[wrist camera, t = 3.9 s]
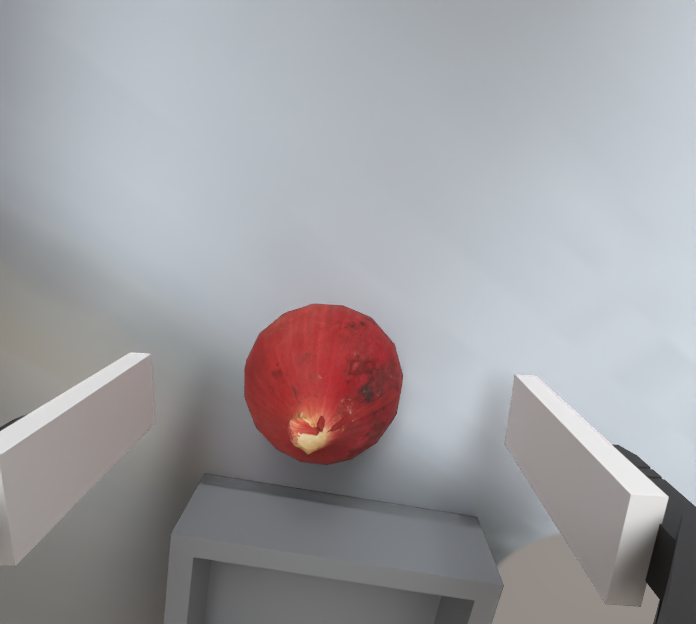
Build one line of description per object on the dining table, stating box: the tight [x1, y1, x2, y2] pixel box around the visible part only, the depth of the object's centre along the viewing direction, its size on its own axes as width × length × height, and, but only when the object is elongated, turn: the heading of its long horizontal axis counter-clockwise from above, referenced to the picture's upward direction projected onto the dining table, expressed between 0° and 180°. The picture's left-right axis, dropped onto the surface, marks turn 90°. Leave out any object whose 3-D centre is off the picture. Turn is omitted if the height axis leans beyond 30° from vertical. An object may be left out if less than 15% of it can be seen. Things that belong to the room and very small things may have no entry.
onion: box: [244, 304, 403, 465], centre depth 16 cm, size 6×6×8 cm
